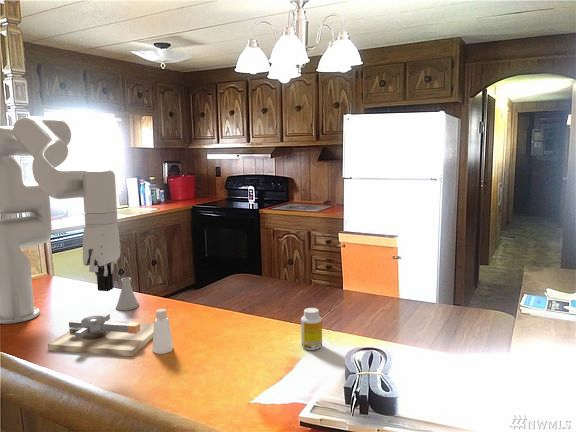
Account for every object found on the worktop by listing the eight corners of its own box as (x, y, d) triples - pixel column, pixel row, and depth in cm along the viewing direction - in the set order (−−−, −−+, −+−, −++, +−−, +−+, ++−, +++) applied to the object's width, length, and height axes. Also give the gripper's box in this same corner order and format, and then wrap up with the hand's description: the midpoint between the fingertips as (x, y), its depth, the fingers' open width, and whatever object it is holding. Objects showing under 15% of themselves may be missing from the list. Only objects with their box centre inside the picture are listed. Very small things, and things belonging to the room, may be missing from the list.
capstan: (54, 343, 118) (53, 327, 117) (86, 323, 131) (85, 309, 131) (125, 348, 115) (124, 332, 114) (150, 327, 128) (149, 313, 128)
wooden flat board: (48, 349, 118) (47, 339, 118) (88, 324, 136) (87, 314, 135) (132, 356, 115) (131, 345, 114) (162, 329, 132) (162, 319, 132)
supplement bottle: (326, 348, 119) (325, 311, 118) (307, 352, 116) (307, 314, 115) (315, 341, 124) (315, 305, 123) (298, 345, 121) (297, 308, 120)
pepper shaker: (154, 355, 115) (152, 315, 113) (150, 347, 120) (148, 308, 118) (175, 351, 117) (173, 311, 116) (170, 343, 122) (169, 305, 121)
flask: (131, 311, 147) (129, 282, 145) (111, 310, 148) (109, 281, 147) (142, 304, 154) (141, 276, 152) (123, 303, 155) (122, 275, 154)
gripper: (104, 214, 120) (108, 280, 122) (68, 223, 105) (73, 298, 107) (130, 215, 118) (133, 282, 121) (97, 224, 104) (102, 300, 106)
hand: (105, 289), depth 114 cm, fingers closed
